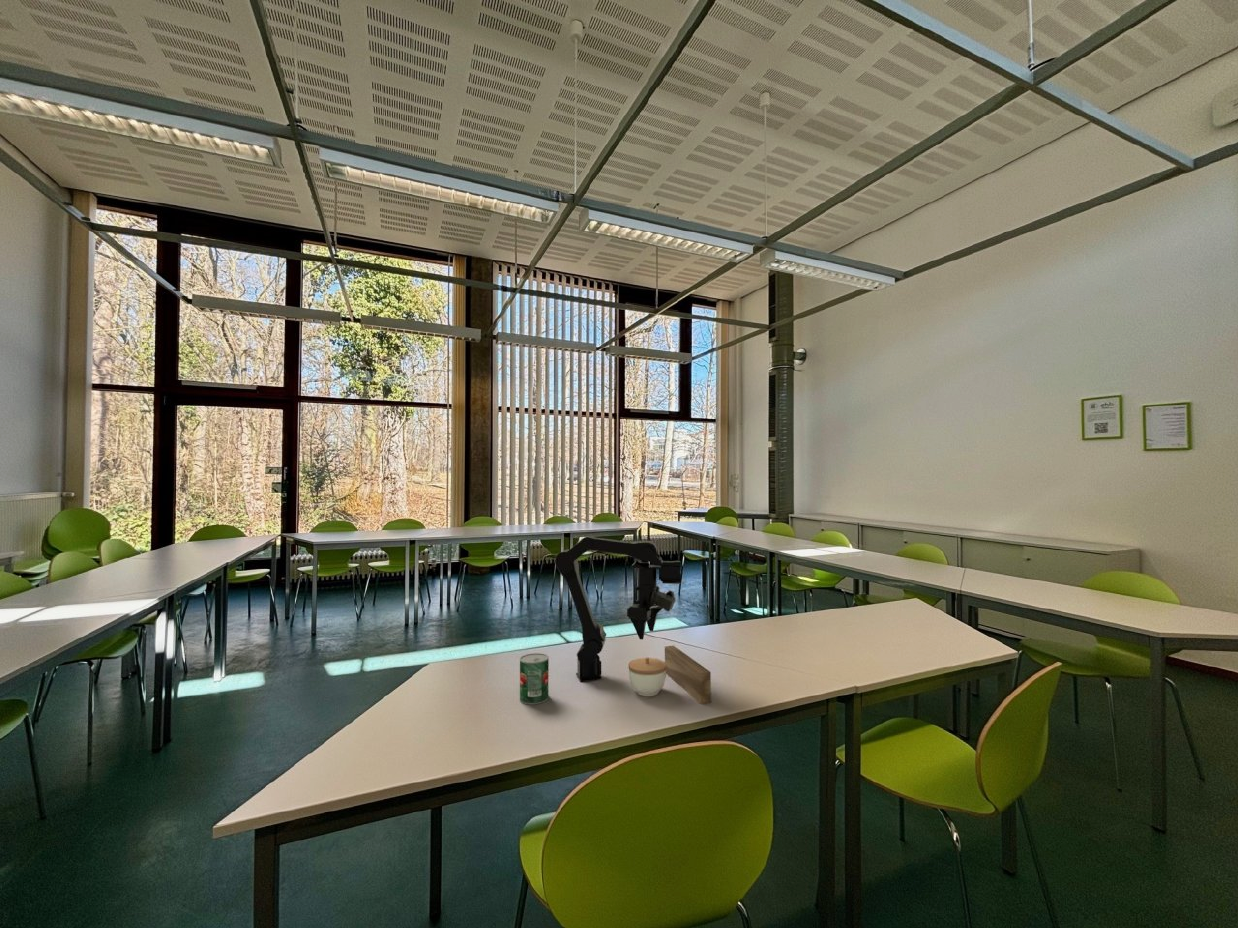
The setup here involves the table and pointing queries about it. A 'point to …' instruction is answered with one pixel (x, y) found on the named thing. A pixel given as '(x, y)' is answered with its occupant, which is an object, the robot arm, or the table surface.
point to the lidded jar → (647, 675)
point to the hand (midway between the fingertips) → (646, 634)
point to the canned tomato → (534, 678)
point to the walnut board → (688, 674)
